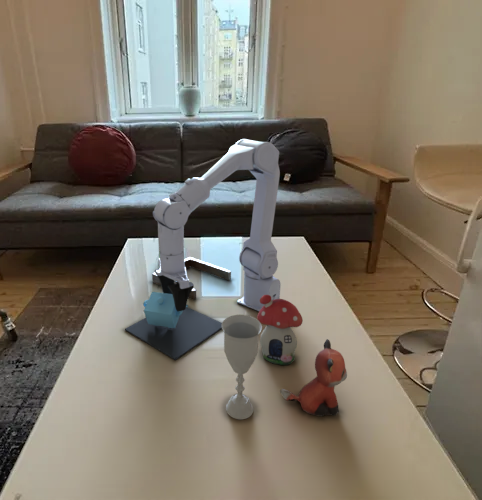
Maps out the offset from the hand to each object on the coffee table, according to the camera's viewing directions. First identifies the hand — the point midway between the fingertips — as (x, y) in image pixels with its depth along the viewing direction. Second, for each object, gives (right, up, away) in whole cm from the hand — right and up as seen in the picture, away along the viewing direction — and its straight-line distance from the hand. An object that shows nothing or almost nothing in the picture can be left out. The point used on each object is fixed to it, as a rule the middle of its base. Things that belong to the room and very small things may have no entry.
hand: (174, 302), depth 94 cm
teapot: (-1, -5, +4) cm, 6 cm away
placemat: (0, -7, +3) cm, 7 cm away
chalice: (+13, -17, -23) cm, 31 cm away
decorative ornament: (+23, -11, -9) cm, 27 cm away
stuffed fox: (+26, -16, -22) cm, 38 cm away
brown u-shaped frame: (+5, +3, +26) cm, 27 cm away
